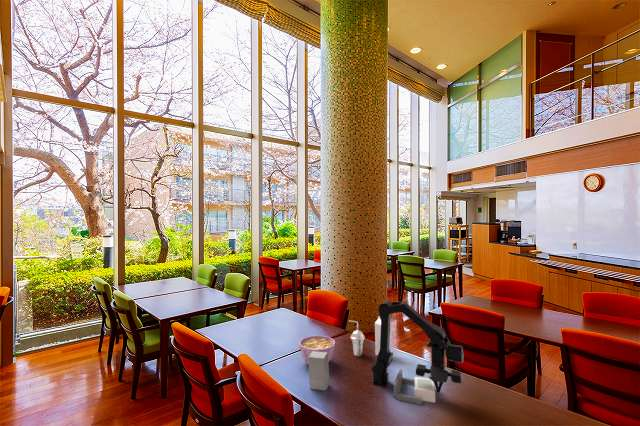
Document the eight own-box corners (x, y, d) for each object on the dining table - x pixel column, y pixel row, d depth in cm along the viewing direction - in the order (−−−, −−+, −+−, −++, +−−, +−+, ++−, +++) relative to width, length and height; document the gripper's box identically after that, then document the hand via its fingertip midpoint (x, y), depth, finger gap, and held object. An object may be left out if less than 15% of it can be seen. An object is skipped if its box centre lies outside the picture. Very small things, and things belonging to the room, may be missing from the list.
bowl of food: (293, 368, 173) (292, 346, 173) (308, 353, 192) (308, 333, 192) (328, 374, 166) (327, 352, 166) (340, 358, 184) (340, 337, 184)
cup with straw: (361, 358, 183) (361, 323, 183) (347, 355, 188) (346, 321, 188) (367, 352, 191) (366, 319, 191) (353, 349, 195) (352, 316, 195)
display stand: (393, 398, 143) (393, 385, 143) (400, 380, 158) (400, 368, 158) (421, 404, 138) (421, 390, 138) (426, 385, 153) (426, 373, 153)
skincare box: (329, 384, 156) (329, 351, 156) (325, 392, 149) (324, 358, 149) (313, 381, 159) (312, 349, 159) (308, 389, 152) (307, 355, 152)
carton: (414, 400, 142) (414, 388, 142) (414, 387, 153) (414, 376, 153) (435, 403, 140) (435, 391, 140) (433, 389, 151) (433, 378, 151)
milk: (383, 358, 183) (382, 319, 183) (375, 355, 188) (374, 317, 188) (390, 355, 186) (389, 317, 186) (382, 352, 191) (381, 315, 191)
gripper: (413, 361, 140) (414, 397, 140) (460, 369, 132) (461, 407, 132) (417, 351, 150) (417, 384, 150) (461, 358, 142) (461, 393, 142)
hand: (438, 392), depth 143 cm, fingers closed
